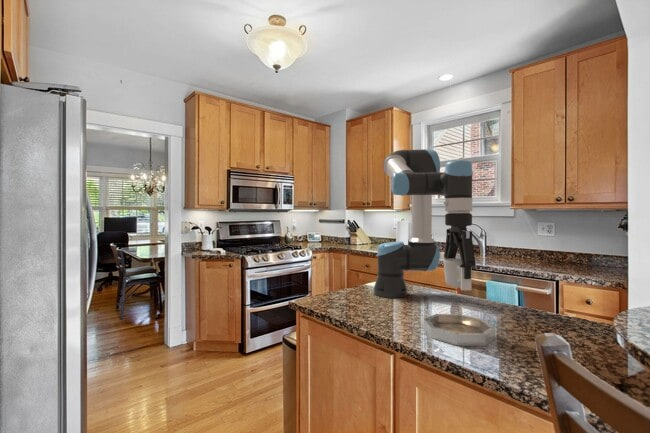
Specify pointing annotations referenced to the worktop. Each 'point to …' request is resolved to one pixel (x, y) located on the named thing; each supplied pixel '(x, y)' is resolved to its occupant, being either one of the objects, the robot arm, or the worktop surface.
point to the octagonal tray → (459, 329)
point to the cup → (452, 272)
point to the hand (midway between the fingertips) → (458, 285)
